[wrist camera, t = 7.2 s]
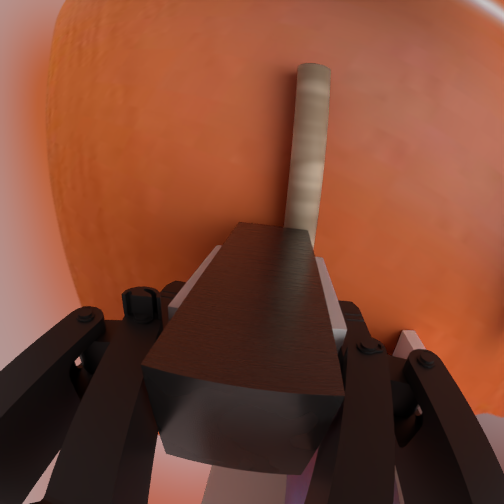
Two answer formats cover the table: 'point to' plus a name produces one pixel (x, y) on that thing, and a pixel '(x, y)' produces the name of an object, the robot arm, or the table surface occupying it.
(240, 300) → the grey angled piece
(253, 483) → the corner shelf
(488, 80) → the table surface
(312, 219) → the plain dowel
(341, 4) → the table surface
